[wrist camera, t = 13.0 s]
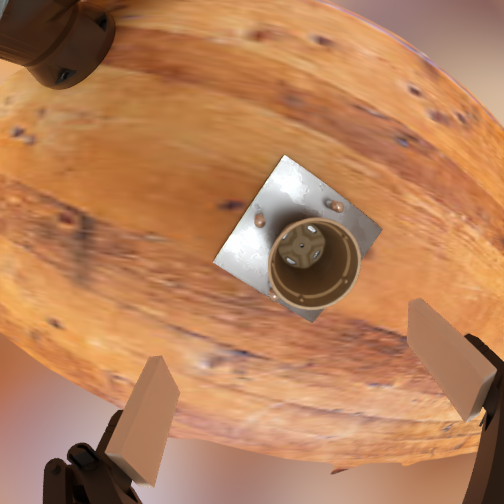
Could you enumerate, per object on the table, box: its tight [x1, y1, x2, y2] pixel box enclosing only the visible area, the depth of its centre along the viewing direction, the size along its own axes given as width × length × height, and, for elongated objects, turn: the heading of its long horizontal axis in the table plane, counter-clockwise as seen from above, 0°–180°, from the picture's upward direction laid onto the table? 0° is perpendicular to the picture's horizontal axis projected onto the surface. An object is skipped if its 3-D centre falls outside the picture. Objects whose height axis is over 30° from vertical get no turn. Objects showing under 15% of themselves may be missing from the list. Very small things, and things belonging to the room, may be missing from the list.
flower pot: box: [267, 217, 361, 310], centre depth 31 cm, size 9×9×9 cm
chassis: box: [213, 155, 383, 323], centre depth 34 cm, size 16×16×5 cm
